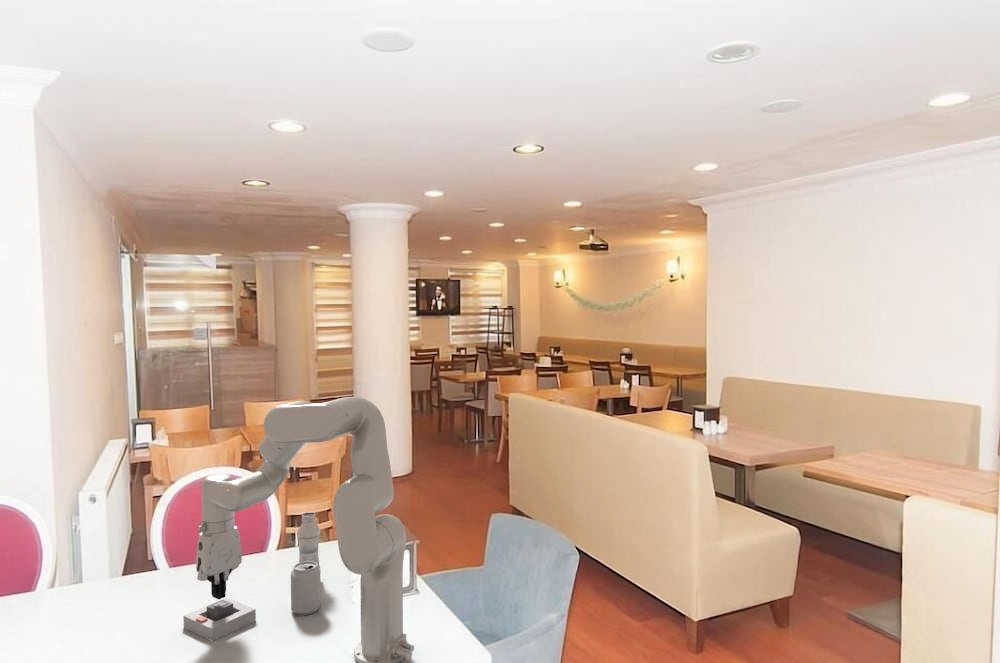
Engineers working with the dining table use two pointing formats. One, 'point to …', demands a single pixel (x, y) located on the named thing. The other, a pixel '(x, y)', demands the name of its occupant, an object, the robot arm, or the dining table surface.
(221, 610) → the plug
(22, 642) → the dining table surface
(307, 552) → the plastic bottle
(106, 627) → the dining table surface
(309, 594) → the can
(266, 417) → the robot arm
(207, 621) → the socket plate
